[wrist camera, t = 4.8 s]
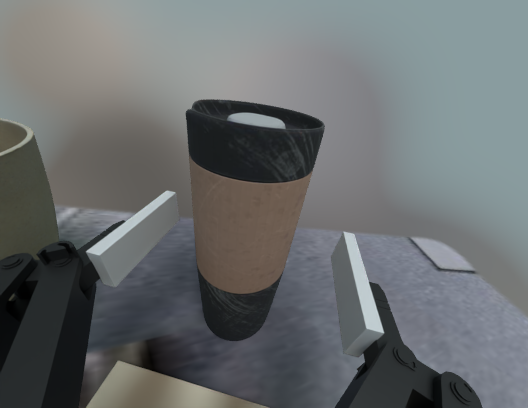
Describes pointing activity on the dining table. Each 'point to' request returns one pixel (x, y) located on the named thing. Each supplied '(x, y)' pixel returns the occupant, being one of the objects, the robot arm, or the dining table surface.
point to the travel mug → (246, 204)
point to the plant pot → (23, 194)
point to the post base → (158, 392)
